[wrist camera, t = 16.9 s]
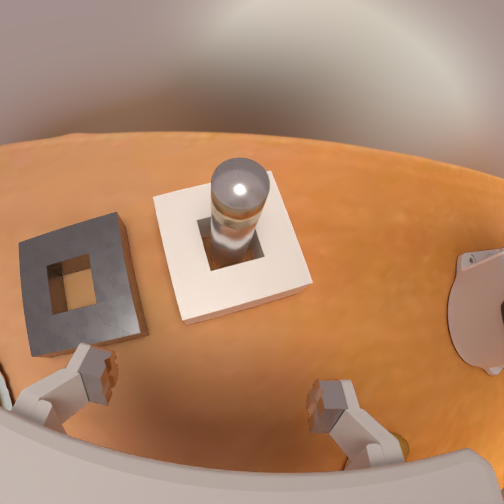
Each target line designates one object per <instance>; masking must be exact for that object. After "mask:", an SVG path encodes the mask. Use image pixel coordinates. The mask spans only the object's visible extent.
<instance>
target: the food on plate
mask: <svg viewBox="0 0 504 504" xmlns="http://www.w3.org/2000/svg"><path fill="white" fill-rule="evenodd" d="M0 406H1V407H3V408H5V409H7V410H9V411H11V409H12V408H13V407H12V403H11V399H10V396H9V390H8V389H7V387H6V382H5V377H4V376H3V374H2V373H1V372H0Z"/></svg>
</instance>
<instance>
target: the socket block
mask: <svg viewBox="0 0 504 504" xmlns="http://www.w3.org/2000/svg"><path fill="white" fill-rule="evenodd" d="M19 262H20V277H21V288H22V298H23V306H24V314H25V321H26V327H27V333H28V339H29V345H30V350H31V355H32V357H55V356H60V355H65V354H69V353H74V352H75V351H76V349H77V347H78V346H79V344H80V343H82V342H83V343H86V344H90V345H94V346H98V347H102V346H106V345H110V344H115V343H119V342H123V341H127V340H131V339H136V338H140V337H144V336H148V335H149V333H148V329H147V325H146V321H145V317H144V313H143V309H142V305H141V301H140V297H139V292H138V288H137V283H136V278H135V274H134V269H133V264H132V259H131V254H130V248H129V243H128V237H127V231H126V227H125V225H124V223H123V222H122V220H121V218H120V217H119V215H118V213H117V212H114V213H111V214H107V215H104V216H101V217H97V218H94V219H90V220H87V221H84V222H81V223H77V224H74V225H71V226H68V227H65V228H61V229H58V230H55V231H52V232H49V233H46V234H43V235H40V236H37V237H34V238H31V239H28V240H25V241H23V242H20V243H19ZM88 268H91V272H92V278H93V284H94V290H95V295H96V301H97V304H94V305H90V306H86V307H82V308H78V309H75V310H71V311H68V310H67V304H66V298H65V291H64V284H63V277H62V276H63V275H67V274H70V273H74V272H77V271H81V270H84V269H88Z"/></svg>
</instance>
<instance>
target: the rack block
mask: <svg viewBox="0 0 504 504" xmlns="http://www.w3.org/2000/svg"><path fill="white" fill-rule="evenodd" d="M266 172H267V174H268V176H269V180H270V190H269V194H268V197H267V199H266V202H265V205H264V208H263V210H262V213H261V216H260V217H259V219H258V222H257V225H256V228H255V231H254V233H253V236H252V239H251V242H250V245H249V248H250V251H251V254H252V257H253V260H251V261H247V262H243V263H239V264H236V265H232V266H228V267H225V268H221V269H217V270H213V271H210V267H209V264H208V260H207V256H206V253H205V249H204V246H203V242H202V238H204V237H208V236H211V183H208V184H204V185H199V186H195V187H191V188H187V189H183V190H178V191H174V192H170V193H166V194H162V195H158V196H154V197H153V199H154V204H155V209H156V214H157V219H158V223H159V228H160V233H161V237H162V242H163V246H164V250H165V255H166V259H167V263H168V267H169V271H170V275H171V279H172V283H173V287H174V291H175V295H176V299H177V303H178V306H179V310H180V314H181V317H182V321H183V322H184V323H185V324H186V325H190V324H194V323H198V322H202V321H205V320H209V319H212V318H216V317H220V316H223V315H227V314H230V313H234V312H237V311H241V310H244V309H247V308H251V307H254V306H258V305H261V304H264V303H268V302H271V301H274V300H278V299H281V298H284V297H287V296H290V295H294V294H297V293H299V292H300V291H302V290H303V289H305V288H306V287H307V286H309V285H310V284H312V283H313V282H312V279H311V276H310V273H309V270H308V268H307V265H306V262H305V259H304V256H303V254H302V251H301V248H300V245H299V243H298V240H297V237H296V235H295V232H294V229H293V227H292V224H291V221H290V219H289V216H288V213H287V211H286V208H285V205H284V203H283V200H282V198H281V195H280V193H279V190H278V187H277V185H276V182H275V180H274V177H273V175H272V172H271V171H266Z"/></svg>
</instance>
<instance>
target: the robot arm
mask: <svg viewBox="0 0 504 504" xmlns="http://www.w3.org/2000/svg"><path fill="white" fill-rule="evenodd" d="M448 323H449V330H450V334H451V338H452V341H453V344H454V346H455V348H456V350H457V352H458V354H459V355H460V356H461V358H462V359H463V360H464V361H465V362H467V363H468V364H470V365H472V366H475V367H480V368H483V369H484V370H485V371H486V372H487V373H488V374H489V375H490V376H494V375H498V374H499V373H500V371H501V370H502V369H503V367H504V246H503V248H502V249H494V250H486V251H478V252H469V253H464V254H460V255H459V256H458V259H457V275H456V278H455V281H454V284H453V286H452V289H451V292H450V296H449V303H448ZM116 358H117V357H116V352H115V351H112V350H109V349H105V348H101V347H98V346H94V345H90V344H86V343H83V342H82V343H80V344H79V346H78V347H77V349H76V351H75V353H74V354H73V356H72V358H71V360H70V362H69V364H68V365H67V367H66V369H64V368H62V369H60V370H58V371H56V372H55V373H53V374H51V375H49V376H47V377H45V378H44V379H42V380H40V381H38V382H36V383H34V384H33V385H31V386H29V387H27V388H25V389H23V390H22V391H21V393H20V395H19V397H18V398H17V400H16V402H15V404H14V406H13V408H12V409H11V411H9V410H7V409H5V408H3V407H1V406H0V504H504V501H503V497H502V494H501V490H500V487H499V484H498V481H497V478H496V475H495V472H494V470H493V468H492V466H491V464H490V463H489V462H488V461H487V460H486V459H484V458H483V457H482V456H480V455H479V454H478V453H476V452H475V451H473V450H472V449H469V448H464V449H460V450H456V451H453V452H449V453H445V454H441V455H437V456H433V457H428V458H424V459H419V460H414V461H409V462H405V460H404V456H403V453H402V450H401V447H400V444H399V441H398V439H396V438H395V437H394V436H393V435H392V434H391V433H390V432H388V431H387V430H386V429H385V428H384V427H383V426H382V425H381V424H379V423H378V422H377V421H376V420H375V419H374V418H373V417H372V416H371V415H369V414H368V413H367V412H366V411H365V410H364V409H360V406H359V403H358V400H357V397H356V393H355V390H354V387H353V384H352V381H351V380H342V379H339V380H338V379H316V380H315V381H314V383H313V389H312V390H310V391H309V393H308V396H307V401H306V408H307V412H308V413H309V414H310V415H311V416H310V418H309V420H308V422H309V428H310V433H329V435H330V436H331V437H332V438H333V440H334V441H335V442H336V443H337V445H338V446H339V447H340V448H341V450H342V451H343V452H344V453H345V454H346V456H347V457H348V458H349V459H350V460H351V463H350V464H349V465H348V467H347V468H346V469H345V470H344V471H330V472H309V473H268V472H247V471H233V470H222V469H213V468H204V467H197V466H190V465H183V464H177V463H171V462H166V461H160V460H155V459H151V458H146V457H141V456H137V455H133V454H129V453H125V452H121V451H117V450H113V449H110V448H106V447H103V446H99V445H96V444H93V443H89V442H86V441H83V440H80V439H77V438H74V437H71V436H69V435H67V433H66V431H65V430H64V428H63V426H62V423H64V422H65V421H66V420H67V419H69V418H70V417H71V416H72V415H74V414H75V413H76V412H77V411H79V410H80V409H81V408H83V407H84V406H85V405H86V404H88V403H89V401H90V402H94V403H98V404H102V405H106V406H108V404H109V401H110V398H111V396H112V391H111V388H112V387H114V386H115V385H116V382H117V379H118V364H117V363H116V362H115V360H116Z"/></svg>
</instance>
